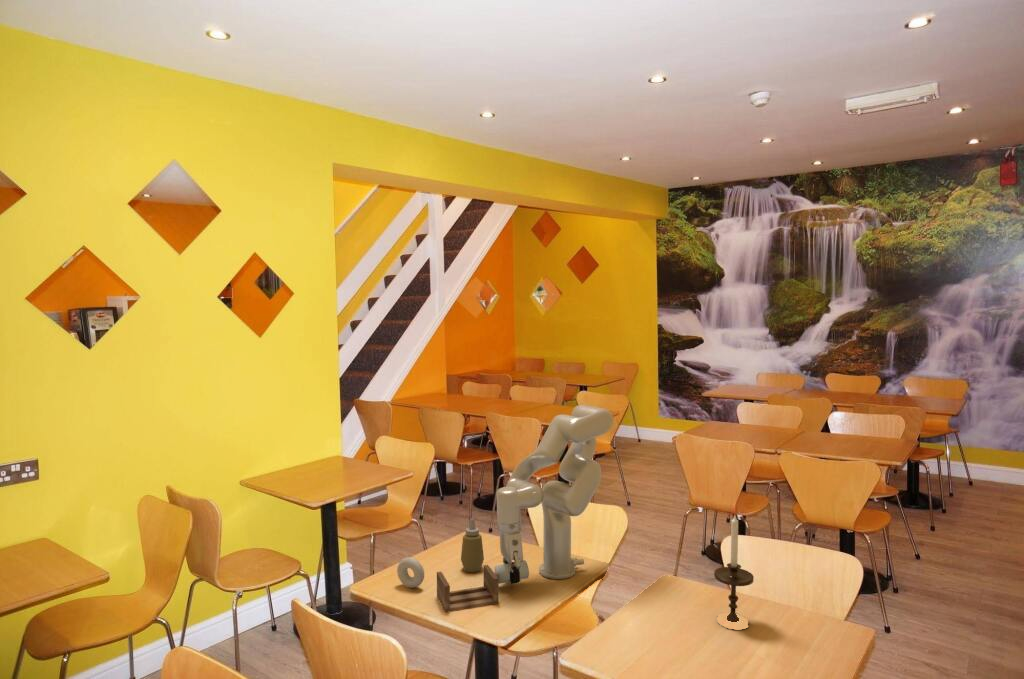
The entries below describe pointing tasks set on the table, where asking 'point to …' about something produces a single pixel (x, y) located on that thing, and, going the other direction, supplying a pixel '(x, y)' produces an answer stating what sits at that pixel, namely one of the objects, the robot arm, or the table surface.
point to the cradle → (468, 593)
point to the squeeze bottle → (472, 549)
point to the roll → (505, 570)
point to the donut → (415, 567)
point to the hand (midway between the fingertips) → (511, 578)
